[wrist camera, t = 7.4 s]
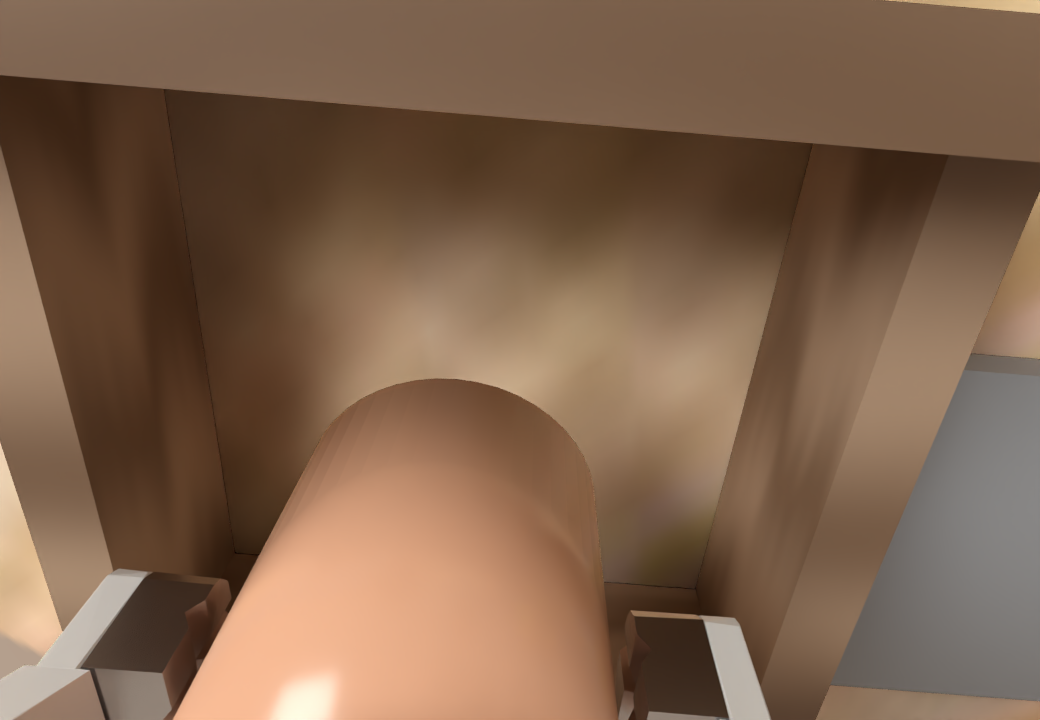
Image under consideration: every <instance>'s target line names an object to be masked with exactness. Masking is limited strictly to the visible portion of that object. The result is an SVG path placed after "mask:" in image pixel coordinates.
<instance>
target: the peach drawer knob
mask: <svg viewBox="0 0 1040 720" xmlns="http://www.w3.org/2000/svg"><path fill="white" fill-rule="evenodd" d="M173 720H618V711H617V702H616V693H615V683H614V674H613V665H612V655H611V646H610V636H609V627H608V618H607V608H606V599H605V590H604V580H603V571H602V562H601V552H600V543H599V534H598V524H597V515H596V505H595V496H594V487H593V483H592V478H591V474H590V471H589V468H588V466H587V464H586V461H585V459H584V456H583V455H582V453H581V451H580V450H579V448H578V447H577V445H576V443H575V442H574V441H573V439H572V438H571V437H570V436H569V434H568V433H567V432H566V431H565V430H564V428H563V427H561V426H560V425H559V424H558V423H557V422H556V421H555V420H554V419H553V418H552V417H551V416H550V415H548V414H547V413H545V412H544V411H542V410H541V409H540V408H538V407H537V406H535V405H534V404H532V403H530V402H528V401H527V400H525V399H523V398H521V397H519V396H517V395H515V394H512V393H510V392H507V391H505V390H502V389H500V388H497V387H493V386H490V385H486V384H482V383H478V382H472V381H465V380H459V379H426V380H415V381H410V382H406V383H401V384H396V385H393V386H390V387H387V388H384V389H381V390H378V391H376V392H374V393H372V394H370V395H368V396H366V397H364V398H362V399H360V400H359V401H358V402H356V403H355V404H353V405H352V406H350V407H349V408H347V409H346V410H345V411H344V412H343V413H342V414H341V415H339V416H338V417H337V418H336V419H335V420H334V421H333V422H332V424H331V425H330V426H329V427H328V429H327V430H326V431H325V432H324V434H323V436H322V437H321V439H320V441H319V443H318V444H317V446H316V448H315V450H314V452H313V454H312V456H311V458H310V459H309V461H308V463H307V465H306V467H305V469H304V471H303V473H302V475H301V477H300V478H299V480H298V482H297V484H296V486H295V488H294V490H293V492H292V494H291V496H290V497H289V499H288V501H287V503H286V505H285V507H284V509H283V511H282V513H281V515H280V517H279V518H278V520H277V522H276V524H275V526H274V528H273V530H272V532H271V534H270V536H269V537H268V539H267V541H266V543H265V545H264V547H263V549H262V551H261V553H260V555H259V556H258V558H257V560H256V562H255V564H254V566H253V568H252V570H251V572H250V574H249V576H248V577H247V579H246V581H245V583H244V585H243V587H242V589H241V591H240V593H239V595H238V596H237V598H236V600H235V602H234V604H233V606H232V608H231V610H230V612H229V614H228V615H227V617H226V619H225V621H224V623H223V625H222V627H221V629H220V631H219V633H218V634H217V636H216V638H215V640H214V642H213V644H212V646H211V648H210V650H209V652H208V654H207V655H206V657H205V659H204V661H203V663H202V665H201V667H200V669H199V671H198V673H197V674H196V676H195V678H194V680H193V682H192V684H191V686H190V688H189V690H188V692H187V693H186V695H185V697H184V699H183V701H182V703H181V705H180V707H179V709H178V711H177V713H176V714H175V716H174V718H173Z"/></svg>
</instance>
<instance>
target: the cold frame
mask: <svg viewBox="0 0 1040 720" xmlns="http://www.w3.org/2000/svg"><path fill="white" fill-rule="evenodd" d="M164 89H172V90H184V91H196V92H208V93H220V94H232V95H244V96H256V97H268V98H280V99H291V100H303V101H315V102H327V103H339V104H351V105H363V106H375V107H387V108H399V109H411V110H422V111H434V112H446V113H458V114H470V115H482V116H494V117H506V118H518V119H530V120H541V121H553V122H565V123H577V124H589V125H601V126H613V127H625V128H637V129H649V130H660V131H672V132H684V133H696V134H708V135H720V136H732V137H744V138H756V139H768V140H779V141H791V142H803V143H813V146H812V150H811V154H810V158H809V162H808V165H807V169H806V173H805V177H804V181H803V184H802V188H801V192H800V196H799V199H798V203H797V207H796V211H795V215H794V218H793V222H792V226H791V230H790V234H789V237H788V241H787V245H786V249H785V253H784V256H783V260H782V264H781V268H780V271H779V275H778V279H777V283H776V287H775V290H774V294H773V298H772V302H771V306H770V309H769V313H768V317H767V321H766V324H765V328H764V332H763V336H762V340H761V343H760V347H759V351H758V355H757V359H756V362H755V366H754V370H753V374H752V377H751V381H750V385H749V389H748V393H747V396H746V400H745V404H744V408H743V412H742V415H741V419H740V423H739V427H738V431H737V434H736V438H735V442H734V446H733V449H732V453H731V457H730V461H729V465H728V468H727V472H726V476H725V480H724V484H723V487H722V491H721V495H720V499H719V502H718V506H717V510H716V514H715V518H714V521H713V525H712V529H711V533H710V537H709V540H708V544H707V548H706V552H705V556H704V559H703V563H702V567H701V571H700V574H699V578H698V582H697V586H696V590H695V589H682V588H669V587H656V586H644V585H631V584H618V583H605V582H604V590H605V599H606V608H607V618H608V627H609V636H610V646H611V655H612V665H613V674H614V683H615V693H616V672H617V663H618V658H619V652H620V650H621V649H622V648H624V647H625V646H626V639H625V631H624V628H625V623H626V619H627V616H628V614H629V612H630V610H633V611H648V612H662V613H677V614H692V615H697V616H700V615H702V616H716V617H730V618H735V619H736V620H737V621H738V623H739V624H740V626H741V629H742V633H743V636H744V639H745V642H746V645H747V648H748V651H749V654H750V657H751V660H752V663H753V666H754V669H755V672H756V675H757V678H758V681H759V684H760V687H761V690H762V693H763V696H764V699H765V702H766V705H767V708H768V711H769V714H770V717H771V720H815V719H816V717H817V715H818V712H819V710H820V707H821V705H822V703H823V700H824V698H825V696H826V693H827V691H828V689H829V686H830V684H831V682H832V679H833V677H834V675H835V672H836V670H837V667H838V665H839V663H840V660H841V658H842V656H843V653H844V651H845V649H846V646H847V644H848V642H849V639H850V637H851V634H852V632H853V630H854V627H855V625H856V623H857V620H858V618H859V616H860V613H861V611H862V609H863V606H864V604H865V601H866V599H867V597H868V594H869V592H870V590H871V587H872V585H873V583H874V580H875V578H876V576H877V573H878V571H879V568H880V566H881V564H882V561H883V559H884V557H885V554H886V552H887V550H888V547H889V545H890V543H891V540H892V538H893V535H894V533H895V531H896V528H897V526H898V524H899V521H900V519H901V517H902V514H903V512H904V510H905V507H906V505H907V503H908V500H909V498H910V495H911V493H912V491H913V488H914V486H915V484H916V481H917V479H918V477H919V474H920V472H921V470H922V467H923V465H924V462H925V460H926V458H927V455H928V453H929V451H930V448H931V446H932V444H933V441H934V439H935V437H936V434H937V432H938V429H939V427H940V425H941V422H942V420H943V418H944V415H945V413H946V411H947V408H948V406H949V404H950V401H951V399H952V396H953V394H954V392H955V389H956V387H957V385H958V382H959V380H960V378H961V375H962V373H963V371H964V368H965V366H966V363H967V361H968V359H969V356H970V354H971V352H972V349H973V347H974V345H975V342H976V340H977V338H978V335H979V333H980V330H981V328H982V326H983V323H984V321H985V319H986V316H987V314H988V312H989V309H990V307H991V305H992V302H993V300H994V298H995V295H996V293H997V290H998V288H999V286H1000V283H1001V281H1002V279H1003V276H1004V274H1005V272H1006V269H1007V267H1008V265H1009V262H1010V260H1011V257H1012V255H1013V253H1014V250H1015V248H1016V246H1017V243H1018V241H1019V239H1020V236H1021V234H1022V232H1023V229H1024V227H1025V224H1026V222H1027V220H1028V217H1029V215H1030V213H1031V210H1032V208H1033V206H1034V203H1035V201H1036V199H1037V196H1038V194H1039V191H1040V14H1036V13H1025V12H1013V11H1001V10H990V9H978V8H966V7H955V6H943V5H931V4H920V3H908V2H896V1H885V0H0V443H1V446H2V449H3V452H4V455H5V458H6V461H7V464H8V467H9V470H10V473H11V476H12V479H13V482H14V485H15V488H16V491H17V494H18V497H19V500H20V503H21V506H22V509H23V513H24V516H25V519H26V522H27V525H28V528H29V531H30V534H31V537H32V540H33V543H34V546H35V549H36V552H37V555H38V558H39V561H40V564H41V567H42V570H43V573H44V576H45V579H46V583H47V586H48V589H49V592H50V595H51V598H52V601H53V604H54V607H55V610H56V613H57V616H58V619H59V622H60V625H61V628H62V631H64V630H65V628H66V627H67V626H68V624H69V623H70V622H71V621H72V619H73V618H74V617H75V616H76V614H77V613H78V612H79V610H80V609H81V608H82V607H83V605H84V604H85V603H86V602H87V600H88V599H89V598H90V596H91V595H92V594H93V593H94V591H95V590H96V589H97V588H98V586H99V585H100V584H101V582H102V581H103V580H104V579H105V577H106V576H108V575H109V574H110V573H112V572H114V571H115V570H117V569H129V570H139V571H149V572H163V573H173V574H182V575H191V576H201V577H210V578H220V579H224V580H227V581H228V583H229V588H230V592H231V597H232V598H231V600H230V602H229V604H228V606H227V608H226V609H225V611H226V612H227V613H228V614H229V612H230V610H231V608H232V606H233V604H234V602H235V600H236V598H237V596H238V595H239V593H240V591H241V589H242V587H243V585H244V583H245V581H246V579H247V577H248V576H249V574H250V572H251V570H252V568H253V566H254V564H255V562H256V560H257V558H258V556H259V555H249V554H236V553H235V552H234V546H233V539H232V532H231V526H230V519H229V513H228V506H227V500H226V493H225V487H224V480H223V474H222V467H221V461H220V454H219V448H218V441H217V435H216V428H215V421H214V415H213V408H212V402H211V395H210V389H209V382H208V376H207V369H206V363H205V356H204V350H203V343H202V337H201V330H200V324H199V317H198V310H197V304H196V297H195V291H194V284H193V278H192V271H191V265H190V258H189V252H188V245H187V239H186V232H185V226H184V219H183V213H182V206H181V199H180V193H179V186H178V180H177V173H176V167H175V160H174V154H173V147H172V141H171V134H170V128H169V121H168V115H167V108H166V102H165V95H164Z"/></svg>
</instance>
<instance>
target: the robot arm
mask: <svg viewBox="0 0 1040 720" xmlns="http://www.w3.org/2000/svg"><path fill="white" fill-rule="evenodd" d="M231 598H232V597H231V592H230V588H229V583H228V581H227V580H224V579H220V578H210V577H201V576H191V575H182V574H173V573H163V572H149V571H139V570H129V569H117V570H115V571H114V572H112V573H110V574H109V575H108V576H106V577H105V579H104V580H103V581H102V582H101V584H100V585H99V586H98V588H97V589H96V590H95V591H94V593H93V594H92V595H91V596H90V598H89V599H88V600H87V602H86V603H85V604H84V605H83V607H82V608H81V609H80V610H79V612H78V613H77V614H76V616H75V617H74V618H73V619H72V621H71V622H70V623H69V624H68V626H67V627H66V628H65V630H64V631H63V632H62V633H61V635H60V636H59V637H58V638H57V640H56V641H55V642H54V644H53V645H52V646H51V647H50V649H49V650H48V651H47V652H46V654H45V655H44V656H43V657H42V659H41V660H40V661H39V663H38V664H37V665H24V666H22V667H20V668H19V669H17V670H15V671H14V672H12V673H10V674H8V675H7V676H5V677H3V678H2V679H0V720H173V718H174V716H175V714H176V713H177V711H178V709H179V707H180V705H181V703H182V701H183V699H184V697H185V695H186V693H187V692H188V690H189V688H190V686H191V684H192V682H193V680H194V678H195V676H196V674H197V673H198V671H199V669H200V667H201V665H202V663H203V661H204V659H205V657H206V655H207V654H208V652H209V650H210V648H211V646H212V644H213V642H214V640H215V638H216V636H217V634H218V633H219V631H220V629H221V627H222V625H223V623H224V621H225V619H226V617H227V615H228V613H227V612H226V611H225V609H226V608H227V606H228V604H229V602H230V600H231ZM624 631H625V639H626V646H625V647H624V648H622V649H621V650H620V652H619V658H618V663H617V672H616V702H617V711H618V720H771V717H770V714H769V711H768V708H767V705H766V702H765V699H764V696H763V693H762V690H761V687H760V684H759V681H758V678H757V675H756V672H755V669H754V666H753V663H752V660H751V657H750V654H749V651H748V648H747V645H746V642H745V639H744V636H743V633H742V629H741V626H740V624H739V623H738V621H737V620H736V619H735V618H730V617H716V616H702V615H700V616H697V615H692V614H677V613H662V612H648V611H633V610H630V612H629V614H628V616H627V619H626V623H625V628H624Z"/></svg>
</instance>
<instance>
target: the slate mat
mask: <svg viewBox="0 0 1040 720" xmlns="http://www.w3.org/2000/svg"><path fill="white" fill-rule="evenodd" d="M830 685H837V686H850V687H863V688H875V689H888V690H901V691H914V692H927V693H940V694H953V695H966V696H979V697H992V698H1005V699H1018V700H1030V701H1040V359H1030V358H1018V357H1006V356H993V355H981V354H970V356H969V359H968V361H967V363H966V366H965V368H964V371H963V373H962V375H961V378H960V380H959V382H958V385H957V387H956V389H955V392H954V394H953V396H952V399H951V401H950V404H949V406H948V408H947V411H946V413H945V415H944V418H943V420H942V422H941V425H940V427H939V429H938V432H937V434H936V437H935V439H934V441H933V444H932V446H931V448H930V451H929V453H928V455H927V458H926V460H925V462H924V465H923V467H922V470H921V472H920V474H919V477H918V479H917V481H916V484H915V486H914V488H913V491H912V493H911V495H910V498H909V500H908V503H907V505H906V507H905V510H904V512H903V514H902V517H901V519H900V521H899V524H898V526H897V528H896V531H895V533H894V535H893V538H892V540H891V543H890V545H889V547H888V550H887V552H886V554H885V557H884V559H883V561H882V564H881V566H880V568H879V571H878V573H877V576H876V578H875V580H874V583H873V585H872V587H871V590H870V592H869V594H868V597H867V599H866V601H865V604H864V606H863V609H862V611H861V613H860V616H859V618H858V620H857V623H856V625H855V627H854V630H853V632H852V634H851V637H850V639H849V642H848V644H847V646H846V649H845V651H844V653H843V656H842V658H841V660H840V663H839V665H838V667H837V670H836V672H835V675H834V677H833V679H832V682H831V684H830Z"/></svg>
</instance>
